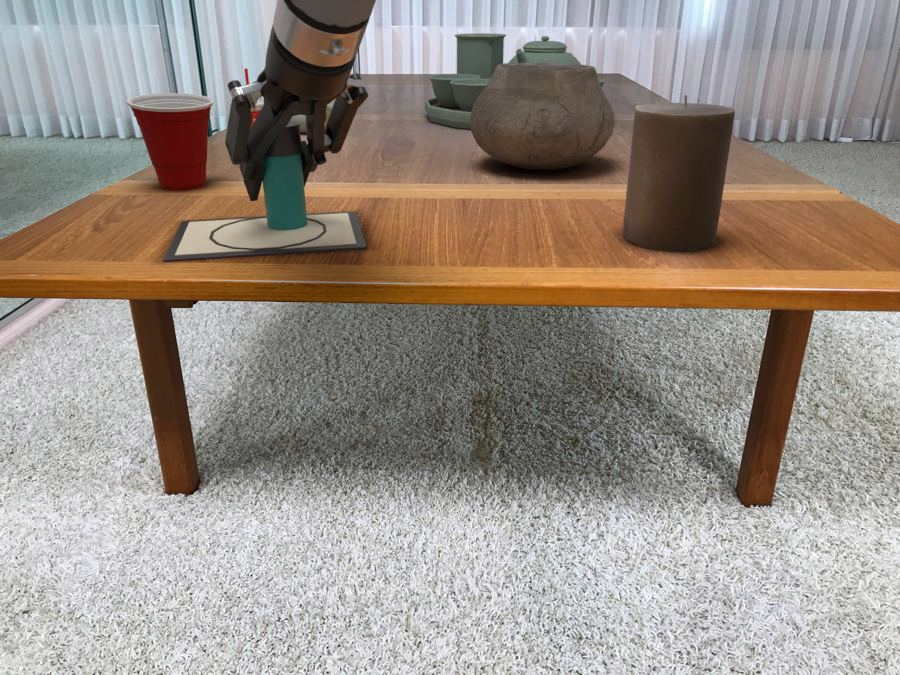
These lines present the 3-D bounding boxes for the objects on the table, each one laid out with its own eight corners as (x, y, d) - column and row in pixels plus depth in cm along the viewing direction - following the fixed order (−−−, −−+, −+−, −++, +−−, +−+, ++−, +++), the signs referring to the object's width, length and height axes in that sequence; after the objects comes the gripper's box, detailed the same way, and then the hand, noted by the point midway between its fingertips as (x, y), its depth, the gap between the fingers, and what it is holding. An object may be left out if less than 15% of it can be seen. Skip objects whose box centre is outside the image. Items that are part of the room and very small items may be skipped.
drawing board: (163, 264, 70) (162, 257, 70) (182, 225, 83) (181, 219, 83) (367, 251, 74) (366, 244, 74) (355, 215, 87) (355, 209, 86)
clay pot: (495, 150, 123) (497, 57, 117) (620, 159, 116) (630, 60, 110) (449, 177, 105) (449, 68, 98) (595, 189, 98) (605, 73, 92)
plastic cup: (167, 201, 92) (150, 104, 87) (128, 188, 99) (111, 97, 94) (240, 187, 100) (229, 96, 95) (200, 175, 106) (187, 90, 101)
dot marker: (266, 231, 78) (254, 128, 74) (267, 220, 82) (255, 121, 78) (308, 229, 79) (299, 126, 74) (307, 218, 83) (299, 120, 79)
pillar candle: (710, 259, 71) (736, 102, 65) (612, 247, 75) (627, 97, 68) (718, 233, 80) (741, 90, 73) (629, 223, 83) (644, 87, 77)
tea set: (394, 127, 146) (391, 39, 139) (465, 103, 180) (466, 31, 172) (588, 140, 132) (595, 43, 125) (625, 111, 166) (633, 34, 159)
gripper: (227, 78, 57) (204, 227, 77) (419, 67, 66) (354, 205, 86) (200, 4, 59) (184, 169, 79) (390, 3, 68) (333, 152, 87)
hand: (273, 187), depth 82 cm, fingers closed on dot marker, 5 cm apart
